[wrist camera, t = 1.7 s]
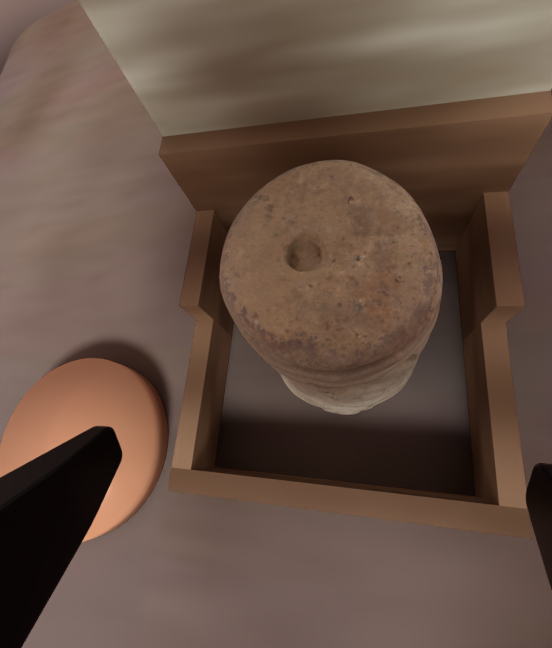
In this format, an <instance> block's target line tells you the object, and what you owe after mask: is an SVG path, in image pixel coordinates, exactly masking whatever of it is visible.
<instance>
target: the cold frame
mask: <svg viewBox="0 0 552 648" xmlns="http://www.w3.org/2000/svg"><path fill="white" fill-rule="evenodd" d="M78 1H79V3H80V4H81V6H82V7H83V9H84V11H85V12H86V14H87V15H88V17H89V19H90V20H91V22H92V24H93V25H94V27H95V28H96V30H97V32H98V33H99V35H100V36H101V38H102V40H103V41H104V43H105V44H106V46H107V48H108V49H109V51H110V52H111V54H112V56H113V57H114V59H115V60H116V62H117V64H118V65H119V67H120V69H121V70H122V72H123V73H124V75H125V77H126V78H127V80H128V81H129V83H130V85H131V86H132V88H133V89H134V91H135V93H136V94H137V96H138V97H139V99H140V101H141V102H142V104H143V106H144V107H145V109H146V110H147V112H148V114H149V115H150V117H151V118H152V120H153V122H154V123H155V125H156V126H157V128H158V130H159V131H160V133H161V134H162V136H163V138H162V142H161V146H160V151H159V156H160V157H161V159H162V160H163V162H164V163H165V165H166V166H167V168H168V169H169V171H170V172H171V174H172V175H173V177H174V178H175V180H176V181H177V183H178V184H179V186H180V187H181V188H182V190H183V191H184V193H185V194H186V196H187V197H188V199H189V200H190V202H191V203H192V205H193V206H194V208H195V209H196V211H197V213H196V218H195V224H194V229H193V234H192V240H191V245H190V251H189V256H188V261H187V267H186V272H185V278H184V283H183V288H182V294H181V299H180V305H179V306H180V307H181V308H183V309H184V310H185V311H186V312H188V313H189V314H190V315H191V316H193V317H194V318H195V319H196V324H195V330H194V336H193V342H192V348H191V354H190V360H189V366H188V372H187V378H186V384H185V390H184V396H183V402H182V408H181V414H180V420H179V426H178V432H177V438H176V444H175V450H174V456H173V462H172V468H171V474H170V480H169V486H168V490H169V491H176V492H184V493H191V494H199V495H206V496H214V497H221V498H229V499H236V500H244V501H252V502H259V503H267V504H274V505H282V506H289V507H297V508H304V509H312V510H319V511H327V512H334V513H342V514H349V515H357V516H364V517H372V518H379V519H387V520H394V521H402V522H409V523H417V524H424V525H432V526H439V527H447V528H454V529H462V530H469V531H477V532H484V533H492V534H500V535H507V536H515V537H522V538H530V539H532V532H531V524H530V516H529V512H528V509H527V505H526V483H525V475H524V467H523V459H522V451H521V443H520V435H519V427H518V419H517V411H516V403H515V395H514V386H513V378H512V370H511V362H510V354H509V346H508V338H507V330H506V322H507V321H509V320H510V319H511V318H512V317H513V316H514V315H516V314H517V313H518V312H519V311H520V310H521V309H523V308H524V307H525V302H524V295H523V288H522V281H521V274H520V267H519V260H518V253H517V246H516V240H515V233H514V226H513V219H512V212H511V205H510V198H509V190H510V188H511V186H512V184H513V183H514V181H515V179H516V178H517V176H518V174H519V172H520V171H521V169H522V167H523V166H524V164H525V162H526V161H527V159H528V157H529V155H530V154H531V152H532V150H533V149H534V147H535V145H536V143H537V142H538V140H539V138H540V137H541V135H542V133H543V131H544V130H545V128H546V126H547V125H548V123H549V121H550V120H551V118H552V97H551V92H550V90H551V88H552V0H78ZM326 160H347V161H352V162H356V163H360V164H363V165H365V166H367V167H369V168H372V169H374V170H376V171H378V172H380V173H382V174H383V175H385V176H387V177H388V178H390V179H392V180H393V181H395V182H396V183H398V184H399V185H400V186H401V187H402V188H404V189H405V190H406V191H407V192H408V193H409V194H410V195H411V197H412V198H413V199H414V201H415V202H416V204H417V205H418V206H419V208H420V209H421V211H422V213H423V215H424V217H425V218H426V220H427V222H428V224H429V227H430V229H431V231H432V234H433V236H434V239H435V242H436V246H437V249H438V251H447V250H455V252H456V265H457V277H458V289H459V301H460V313H461V325H462V338H463V350H464V362H465V374H466V386H467V398H468V411H469V423H470V435H471V447H472V459H473V471H474V483H475V496H469V495H460V494H452V493H443V492H434V491H425V490H416V489H407V488H398V487H389V486H381V485H372V484H363V483H354V482H345V481H336V480H327V479H318V478H309V477H301V476H292V475H283V474H274V473H265V472H256V471H247V470H238V469H230V468H221V467H215V459H216V452H217V444H218V436H219V429H220V421H221V414H222V406H223V398H224V391H225V383H226V376H227V368H228V360H229V353H230V345H231V338H232V330H233V322H234V321H233V319H232V317H231V315H230V313H229V311H228V309H227V307H226V305H225V302H224V300H223V297H222V293H221V289H220V278H219V274H220V263H221V256H222V251H223V247H224V243H225V240H226V237H227V234H228V232H229V230H230V227H231V225H232V223H233V221H234V220H235V218H236V217H237V215H238V214H239V212H240V211H241V210H242V208H243V207H244V206H245V204H246V203H247V202H248V201H249V200H250V199H251V198H252V197H253V195H254V194H255V193H256V192H257V191H259V190H260V189H261V188H262V187H263V186H265V185H266V184H267V183H269V182H270V181H272V180H273V179H275V178H276V177H278V176H280V175H281V174H283V173H285V172H287V171H289V170H291V169H293V168H295V167H298V166H302V165H305V164H310V163H314V162H318V161H326Z"/></svg>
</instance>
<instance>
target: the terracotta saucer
mask: <svg viewBox="0 0 552 648" xmlns="http://www.w3.org/2000/svg"><path fill="white" fill-rule="evenodd" d="M94 426H109V427H112V428H113V429H114V431H115V433H116V436H117V438H118V441H119V444H120V446H121V449H122V454H123V455H122V460H121V463H120V465H119V468H118V470H117V472H116V474H115V476H114V478H113V480H112V483H111V485H110V487H109V489H108V491H107V493H106V496H105V498H104V500H103V502H102V504H101V506H100V509H99V511H98V513H97V515H96V517H95V519H94V521H93V523H92V525H91V527H90V529H89V530H88V532H87V534H86V536H85V538H84V539H83V541H82V542H84V541H87V540H90V539H93V538H96V537H98V536H101V535H104V534H107V533H109V532H111V531H113V530H115V529H116V528H118V527H120V526H121V525H122V524H124V523H125V522H126V521H128V520H129V519H130V518H131V517H132V516H133V515H134V514H135V513H136V512H137V511H138V510H139V509H140V508H141V507H142V505H143V504H144V503H145V502H146V500H147V499H148V497H149V496H150V494H151V493H152V491H153V489H154V487H155V485H156V483H157V481H158V479H159V476H160V474H161V471H162V469H163V465H164V461H165V457H166V452H167V445H168V425H167V418H166V413H165V409H164V406H163V403H162V400H161V398H160V396H159V394H158V392H157V391H156V389H155V388H154V387H153V385H152V384H151V383H150V382H149V381H148V380H147V379H146V377H144V376H143V375H142V374H140V373H139V372H137V371H135V370H134V369H132V368H129V367H127V366H124V365H121V364H118V363H115V362H113V361H110V360H106V359H100V358H86V359H79V360H75V361H71V362H69V363H66V364H64V365H61V366H59V367H58V368H56V369H54V370H52V371H51V372H49V373H48V374H47V375H45V376H44V377H42V378H41V379H40V380H39V381H38V382H37V383H36V384H35V385H34V386H33V387H32V388H31V389H30V390H29V391H28V392H27V393H26V395H25V396H24V397H23V399H22V400H21V401H20V403H19V404H18V406H17V407H16V409H15V411H14V412H13V414H12V416H11V418H10V420H9V422H8V425H7V427H6V430H5V432H4V435H3V439H2V442H1V446H0V477H2V476H4V475H6V474H7V473H9V472H11V471H13V470H15V469H17V468H18V467H20V466H22V465H24V464H26V463H28V462H29V461H31V460H33V459H35V458H37V457H39V456H40V455H42V454H44V453H46V452H48V451H50V450H51V449H53V448H55V447H57V446H59V445H61V444H62V443H64V442H66V441H68V440H70V439H72V438H73V437H75V436H77V435H79V434H81V433H82V432H84V431H86V430H88V429H90V428H92V427H94Z"/></svg>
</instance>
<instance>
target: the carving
mask: <svg viewBox="0 0 552 648" xmlns="http://www.w3.org/2000/svg"><path fill="white" fill-rule="evenodd" d="M219 278H220V289H221V293H222V297H223V300H224V302H225V305H226V307H227V309H228V311H229V313H230V315H231V317H232V319H233V321H234V323H235V324H236V326H237V327H238V329H239V331H240V332H241V334H242V335H243V337H244V338H245V339H246V340H247V342H248V343H249V344H250V345H251V346H252V347H253V348H254V349H255V350H256V351H257V353H258V354H259V355H260V356H261V357H262V358H263V359H264V360H265V361H266V362H267V363H268V364H269V365H270V366H272V367H273V368H274V369H275V370H276V371H277V372H279V373H280V375H281V377H282V379H283V381H284V382H285V384H286V385H287V387H288V388H289V389H290V390H291V391H292V392H293V393H294V394H295V395H296V396H297V397H299V398H300V399H302V400H304V401H306V402H307V403H309V404H311V405H314V406H318V407H321V408H323V410H325V411H327V412H331V413H339V414H344V415H351V414H356V413H359V412H360V411H362V410H368V409H371V408H373V407H374V406H375V405H377V404H379V403H381V402H384V401H386V400H387V399H389V398H391V397H392V396H394V395H395V394H397V393H398V392H399V391H400V390H401V389H402V388H403V387H404V385H405V384H406V383H407V381H408V380H409V378H410V377H411V375H412V372H413V370H414V367H415V365H416V363H417V361H418V358H419V356H420V353H421V352H422V350H423V349H424V347H425V346H426V344H427V341H428V339H429V336H430V333H431V332H432V330H433V327H434V325H435V323H436V320H437V316H438V313H439V308H440V303H441V296H442V285H443V274H442V266H441V261H440V256H439V253H438V249H437V246H436V242H435V239H434V236H433V234H432V231H431V229H430V227H429V224H428V222H427V220H426V218H425V217H424V215H423V213H422V211H421V209H420V208H419V206H418V205H417V204H416V202H415V201H414V199H413V198H412V197H411V195H410V194H409V193H408V192H407V191H406V190H405V189H404V188H402V187H401V186H400V185H399V184H398V183H396V182H395V181H393V180H392V179H390V178H388V177H387V176H385V175H383V174H382V173H380V172H378V171H376V170H374V169H372V168H369V167H367V166H365V165H363V164H360V163H356V162H352V161H347V160H326V161H318V162H314V163H310V164H305V165H302V166H298V167H295V168H293V169H291V170H289V171H287V172H285V173H283V174H281V175H280V176H278V177H276V178H275V179H273V180H272V181H270V182H269V183H267V184H266V185H265V186H263V187H262V188H261V189H260V190H259V191H257V192H256V193H255V194H254V195H253V197H252V198H251V199H250V200H249V201H248V202H247V203H246V204H245V206H244V207H243V208H242V210H241V211H240V212H239V214H238V215H237V217H236V218H235V220H234V221H233V223H232V225H231V227H230V230H229V232H228V234H227V237H226V240H225V243H224V247H223V251H222V256H221V263H220V274H219Z"/></svg>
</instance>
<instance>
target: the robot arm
mask: <svg viewBox="0 0 552 648" xmlns="http://www.w3.org/2000/svg"><path fill="white" fill-rule="evenodd" d="M122 455H123V454H122V449H121V446H120V444H119V441H118V438H117V436H116V433H115V431H114V429H113V428H112V427H109V426H94V427H92V428H90V429H88V430H86V431H84V432H82V433H81V434H79V435H77V436H75V437H73V438H72V439H70V440H68V441H66V442H64V443H62V444H61V445H59V446H57V447H55V448H53V449H51V450H50V451H48V452H46V453H44V454H42V455H40V456H39V457H37V458H35V459H33V460H31V461H29V462H28V463H26V464H24V465H22V466H20V467H18V468H17V469H15V470H13V471H11V472H9V473H7V474H6V475H4V476H2V477H0V648H22V646H23V644H24V642H25V641H26V639H27V637H28V635H29V634H30V632H31V630H32V628H33V627H34V625H35V623H36V621H37V620H38V618H39V616H40V614H41V613H42V611H43V609H44V607H45V606H46V604H47V602H48V600H49V599H50V597H51V595H52V593H53V592H54V590H55V588H56V586H57V585H58V583H59V581H60V579H61V578H62V576H63V574H64V572H65V571H66V569H67V567H68V565H69V564H70V562H71V560H72V559H73V557H74V555H75V553H76V552H77V550H78V548H79V546H80V545H81V543H82V541H83V539H84V538H85V536H86V534H87V532H88V530H89V529H90V527H91V525H92V523H93V521H94V519H95V517H96V515H97V513H98V511H99V509H100V506H101V504H102V502H103V500H104V498H105V496H106V493H107V491H108V489H109V487H110V485H111V483H112V480H113V478H114V476H115V474H116V472H117V470H118V468H119V465H120V463H121V460H122ZM526 505H527V509H528V512H529V516H530V519H531V522H532V526H533V529H534V533H535V536H536V539H537V543H538V546H539V549H540V553H541V556H542V560H543V563H544V566H545V570H546V573H547V577H548V580H549V583H550V586H551V589H552V464H546V463H538V464H536V465H535V466H534V468H533V471H532V474H531V478H530V481H529V484H528V487H527V491H526Z"/></svg>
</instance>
